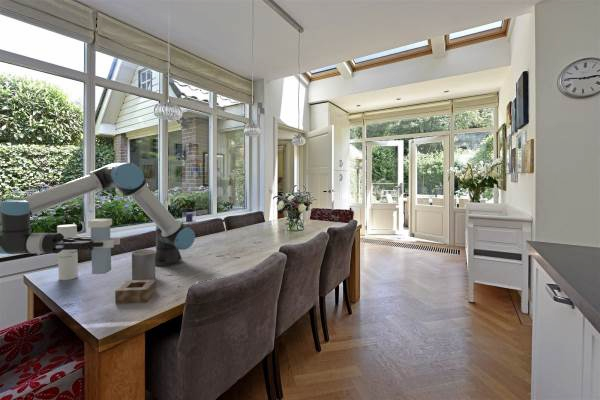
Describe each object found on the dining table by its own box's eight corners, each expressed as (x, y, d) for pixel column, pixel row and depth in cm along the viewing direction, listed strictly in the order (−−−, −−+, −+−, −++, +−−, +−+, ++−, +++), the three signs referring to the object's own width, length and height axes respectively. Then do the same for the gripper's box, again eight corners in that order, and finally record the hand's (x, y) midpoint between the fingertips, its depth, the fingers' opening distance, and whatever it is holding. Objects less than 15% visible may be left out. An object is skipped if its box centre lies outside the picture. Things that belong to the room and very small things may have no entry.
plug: (90, 274, 107) (88, 221, 105) (97, 269, 113) (95, 218, 111) (106, 274, 108) (104, 221, 106) (113, 269, 114) (111, 218, 112)
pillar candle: (133, 278, 137) (133, 247, 136) (156, 275, 141) (155, 246, 140) (130, 285, 128) (129, 252, 127) (154, 282, 132) (154, 251, 131)
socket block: (115, 306, 107) (115, 290, 106) (127, 294, 118) (127, 280, 117) (147, 304, 109) (147, 289, 109) (156, 293, 120) (155, 279, 119)
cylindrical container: (81, 276, 138) (80, 225, 136) (65, 281, 131) (63, 227, 130) (71, 274, 140) (70, 224, 139) (55, 278, 134) (53, 226, 132)
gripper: (62, 247, 115) (126, 246, 119) (30, 259, 97) (105, 258, 102) (62, 229, 114) (125, 229, 119) (29, 237, 97) (105, 237, 101)
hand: (116, 242), depth 110 cm, fingers closed on plug, 5 cm apart
